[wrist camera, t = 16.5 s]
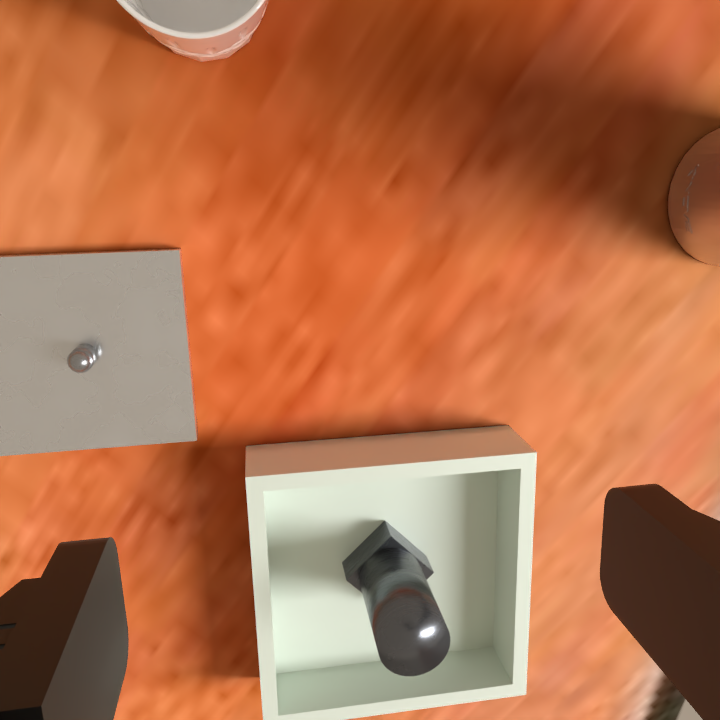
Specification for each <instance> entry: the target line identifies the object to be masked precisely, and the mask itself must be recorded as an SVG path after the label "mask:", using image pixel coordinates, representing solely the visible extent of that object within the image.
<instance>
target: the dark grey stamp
mask: <svg viewBox="0 0 720 720" xmlns="http://www.w3.org/2000/svg"><path fill="white" fill-rule="evenodd" d="M342 565H343V569H344V573H345V577H346V581H348V582H349V583H350V584H351V585H353V586H354V587H355V588H356V589H358V590H359V591H360V592H361V593H362V594H363V598H364V602H365V605H366V609H367V613H368V617H369V620H370V624H371V628H372V632H373V635H374V639H375V643H376V647H377V650H378V654H379V657H380V660H381V662H382V663H383V665H384V666H385V667H386V668H387V669H388V670H390V671H391V672H393V673H395V674H398V675H401V676H418V675H422V674H425V673H427V672H429V671H431V670H433V669H434V668H436V667H437V666H438V665H439V664H440V663H441V662H442V661H443V659H444V658H445V657H446V655H447V653H448V650H449V647H450V633H449V630H448V628H447V625H446V623H445V621H444V618H443V616H442V614H441V612H440V609H439V607H438V605H437V602H436V600H435V598H434V596H433V593H432V591H431V589H430V586H429V584H428V582H427V579H428V578H429V577H430V576H431V575H432V574H433V573H434V571H433V569H432V567H431V565H430V563H429V561H428V558H427V556H426V555H425V554H424V553H423V552H421V551H420V550H419V549H418V548H417V547H416V546H414V545H413V544H412V543H411V542H410V541H409V540H407V539H406V538H405V537H404V536H403V535H402V534H400V533H399V532H398V531H397V530H396V529H395V528H393V527H392V526H391V525H390V524H389V523H388V522H386V521H385V520H384V521H383V522H382V523H381V524H380V525H379V526H378V527H377V528H376V529H375V530H374V531H373V532H372V533H371V534H370V535H369V536H368V537H367V538H366V539H365V540H364V541H363V542H362V543H361V544H360V545H359V546H358V547H357V548H356V549H355V550H354V551H353V552H352V553H351V554H350V555H349V556H348V557H347V558H346V559H345V560H344V561H343V562H342Z"/></svg>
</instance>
